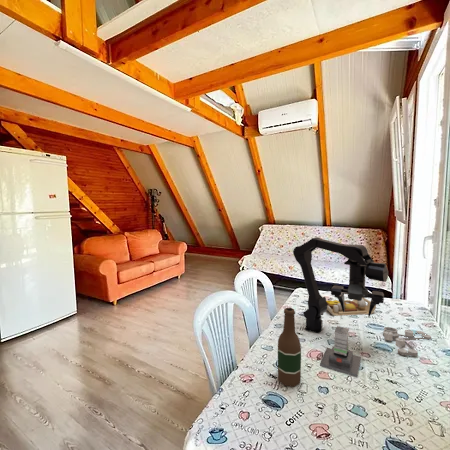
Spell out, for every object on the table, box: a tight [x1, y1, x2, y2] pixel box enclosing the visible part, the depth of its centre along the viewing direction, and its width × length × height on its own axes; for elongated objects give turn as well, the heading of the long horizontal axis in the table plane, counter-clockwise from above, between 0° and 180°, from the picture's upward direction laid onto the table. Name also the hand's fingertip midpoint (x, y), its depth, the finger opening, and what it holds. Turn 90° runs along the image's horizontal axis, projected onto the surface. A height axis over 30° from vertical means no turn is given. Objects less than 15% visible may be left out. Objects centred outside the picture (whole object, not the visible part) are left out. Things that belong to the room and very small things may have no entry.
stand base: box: [319, 345, 362, 378], centre depth 95 cm, size 12×12×4 cm
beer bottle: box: [277, 307, 302, 388], centre depth 86 cm, size 8×8×24 cm
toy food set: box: [326, 298, 377, 317], centre depth 145 cm, size 25×18×8 cm
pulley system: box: [382, 326, 432, 357], centre depth 110 cm, size 27×5×15 cm
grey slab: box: [333, 325, 350, 356], centre depth 95 cm, size 4×6×8 cm
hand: (356, 314), depth 106 cm, fingers open, 9 cm apart
